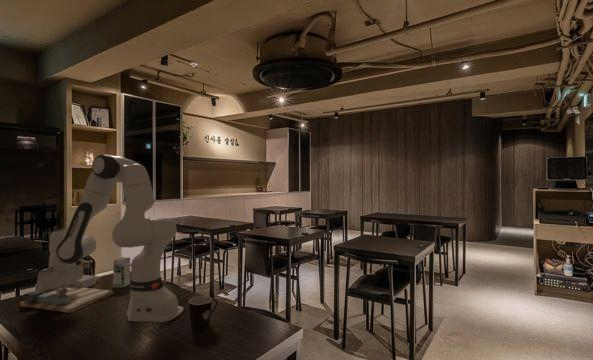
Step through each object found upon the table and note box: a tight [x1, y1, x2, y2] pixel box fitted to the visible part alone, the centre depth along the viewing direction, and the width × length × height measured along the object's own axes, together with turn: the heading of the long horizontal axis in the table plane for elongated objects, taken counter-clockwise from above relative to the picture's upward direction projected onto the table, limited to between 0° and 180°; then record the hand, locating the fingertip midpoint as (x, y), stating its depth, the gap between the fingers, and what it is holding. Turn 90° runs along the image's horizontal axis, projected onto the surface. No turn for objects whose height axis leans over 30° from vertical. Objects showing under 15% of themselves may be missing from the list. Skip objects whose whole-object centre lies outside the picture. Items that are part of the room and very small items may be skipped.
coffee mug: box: [188, 295, 218, 332], centre depth 127 cm, size 12×9×10 cm
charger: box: [68, 274, 101, 288], centre depth 173 cm, size 5×9×15 cm
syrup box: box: [112, 256, 131, 289], centre depth 172 cm, size 6×6×14 cm
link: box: [36, 292, 71, 305], centre depth 145 cm, size 20×5×2 cm, turn 77°
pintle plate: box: [19, 286, 114, 314], centre depth 152 cm, size 27×24×7 cm
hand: (61, 295), depth 150 cm, fingers closed
